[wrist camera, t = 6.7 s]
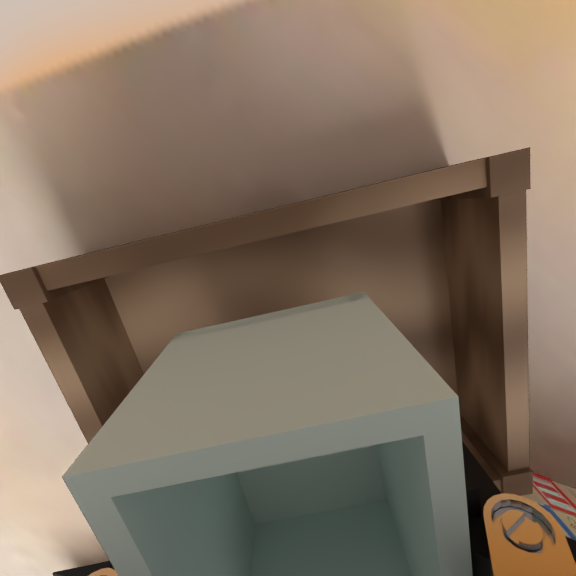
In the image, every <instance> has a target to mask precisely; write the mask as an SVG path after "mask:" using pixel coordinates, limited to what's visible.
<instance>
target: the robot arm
mask: <svg viewBox="0 0 576 576" xmlns="http://www.w3.org/2000/svg"><path fill="white" fill-rule="evenodd" d="M462 447H463V460H464V473H465V485H466V498H467V510H468V523H469V536H470V548H471V561H472V573H473V576H576V540H573V539H571V538H569V537H567V536H565V535H564V532H563V531H562V529H561V527H560V525H559V523H558V522H557V521H556V520H555V519H554V517H553V516H552V515H551V514H550V513H549V512H548V511H547V510H545V509H544V508H543V507H541V506H540V505H539V504H537V503H535V502H533V501H531V500H529V499H527V498H525V497H522V496H519V495H515V494H506V493H501V492H500V490H499V489H498V488H497V486H496V485H495V484H494V482H493V481H492V480H491V478H490V477H489V476H488V474H487V473H486V472H485V470H484V469H483V468H482V466H481V465H480V464H479V462H478V461H477V460H476V458H475V457H474V456H473V454H472V453H471V452H470V450H469V449H468V448H467V446H466V445H465V444H464V442H463V441H462ZM89 576H118V574H117V572H116V571H115V569H114V567H113V565H111V567H110V568H104V569H100V570H98V571H95V572H93V573H91V574H90V575H89Z"/></svg>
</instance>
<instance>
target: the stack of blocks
mask: <svg viewBox="0 0 576 576" xmlns="http://www.w3.org/2000/svg"><path fill="white" fill-rule="evenodd" d="M522 497H525V498H527V499H529V500H531V501H533V502H535V503H537V504H539V505H540V506H541V507H543V508H544V509H545V510H547V511H548V512H549V513H550V514H551V515H552V516H553V517H554V519H555V520H556V521H557V522H558V523H559V525H560V527H561V529H562V531H563V532H564V535H565V536H567V537H569V538H571V539H573V540H576V489H575V488H572V487H569V486H566V485H563V484H560V483H557V482H554V481H552V480H550V479H548V478H546V477H543V476H540V475H537V474H534V473H533V494H528V495H523V496H522Z"/></svg>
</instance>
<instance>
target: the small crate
mask: <svg viewBox="0 0 576 576" xmlns="http://www.w3.org/2000/svg"><path fill="white" fill-rule="evenodd" d="M62 478H63V480H64V482H65V483H66V485H67V487H68V489H69V490H70V492H71V494H72V496H73V497H74V499H75V501H76V503H77V504H78V506H79V508H80V510H81V511H82V513H83V515H84V517H85V518H86V520H87V522H88V524H89V525H90V527H91V529H92V531H93V532H94V534H95V536H96V538H97V539H98V541H99V543H100V544H101V546H102V548H103V550H104V551H105V553H106V555H107V557H108V558H109V560H110V562H111V564H112V565H113V567H114V569H115V571H116V572H117V574H118V576H473V573H472V561H471V548H470V536H469V523H468V510H467V498H466V485H465V473H464V460H463V447H462V435H461V422H460V410H459V397H458V395H457V394H456V393H455V392H454V391H453V390H452V389H451V388H450V387H449V385H448V384H447V383H446V382H445V381H444V380H443V379H442V378H441V377H440V375H439V374H438V373H437V372H436V371H435V370H434V369H433V368H432V367H431V365H430V364H429V363H428V362H427V361H426V360H425V359H424V358H423V357H422V355H421V354H420V353H419V352H418V351H417V350H416V349H415V348H414V347H413V345H412V344H411V343H410V342H409V341H408V340H407V339H406V338H405V337H404V336H403V334H402V333H401V332H400V331H399V330H398V329H397V328H396V327H395V326H394V324H393V323H392V322H391V321H390V320H389V319H388V318H387V317H386V316H385V314H384V313H383V312H382V311H381V310H380V309H379V308H378V307H377V306H376V304H375V303H374V302H373V301H372V300H371V299H370V298H369V297H368V296H367V294H366V293H365V292H362V293H357V294H353V295H348V296H344V297H339V298H335V299H330V300H326V301H321V302H317V303H312V304H308V305H303V306H299V307H294V308H290V309H285V310H281V311H276V312H272V313H268V314H263V315H259V316H254V317H250V318H245V319H241V320H236V321H232V322H227V323H223V324H218V325H214V326H209V327H205V328H200V329H196V330H191V331H187V332H182V333H178V334H176V335H175V336H174V338H173V339H172V340H171V341H170V343H169V344H168V345H167V346H166V348H165V349H164V350H163V351H162V353H161V354H160V355H159V356H158V358H157V359H156V360H155V361H154V363H153V364H152V365H151V366H150V368H149V369H148V370H147V371H146V373H145V374H144V375H143V376H142V378H141V379H140V380H139V381H138V383H137V384H136V385H135V386H134V388H133V389H132V390H131V391H130V393H129V394H128V395H127V396H126V398H125V399H124V400H123V401H122V403H121V404H120V405H119V406H118V408H117V409H116V410H115V411H114V413H113V414H112V415H111V416H110V418H109V419H108V420H107V421H106V423H105V424H104V425H103V426H102V428H101V429H100V430H99V431H98V433H97V434H96V435H95V436H94V438H93V439H92V440H91V441H90V443H89V444H88V445H87V446H86V448H85V449H84V450H83V451H82V453H81V454H80V455H79V456H78V458H77V459H76V460H75V461H74V463H73V464H72V465H71V466H70V468H69V469H68V470H67V471H66V473H65V474H64V475H63V476H62Z"/></svg>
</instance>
